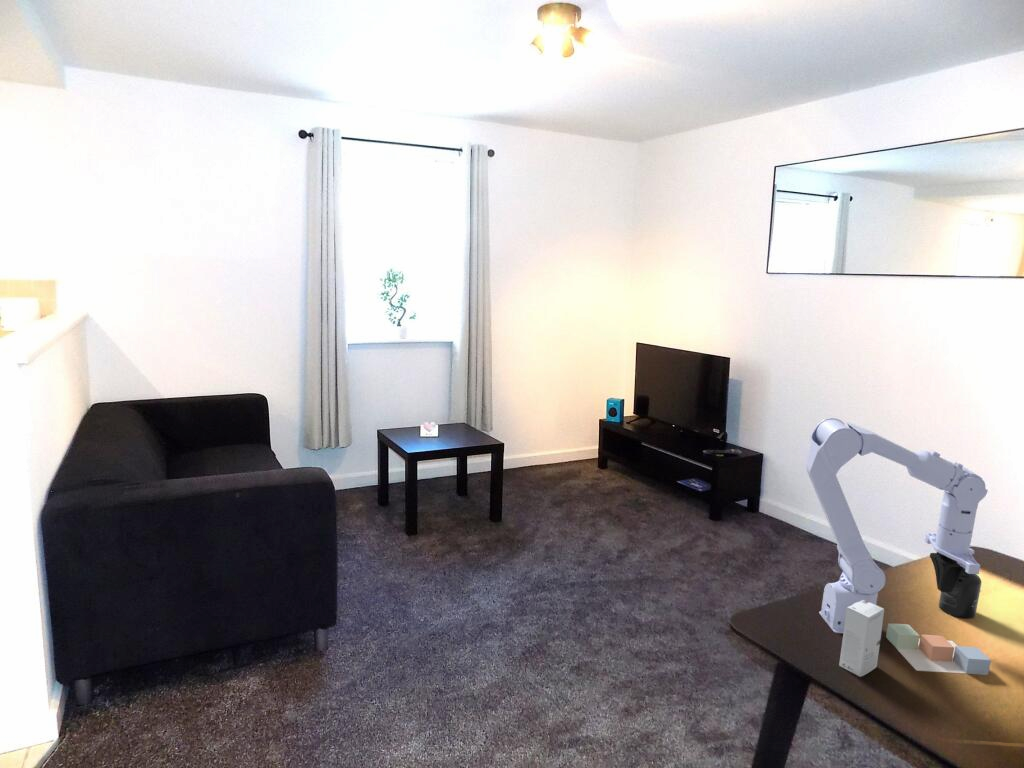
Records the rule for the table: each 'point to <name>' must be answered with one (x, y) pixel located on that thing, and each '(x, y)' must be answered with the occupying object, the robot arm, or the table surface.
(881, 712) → the table surface
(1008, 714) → the table surface
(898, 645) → the sage block
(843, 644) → the skincare box
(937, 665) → the felt mat
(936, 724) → the table surface
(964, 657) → the slate block
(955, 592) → the supplement bottle
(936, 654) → the terracotta block
